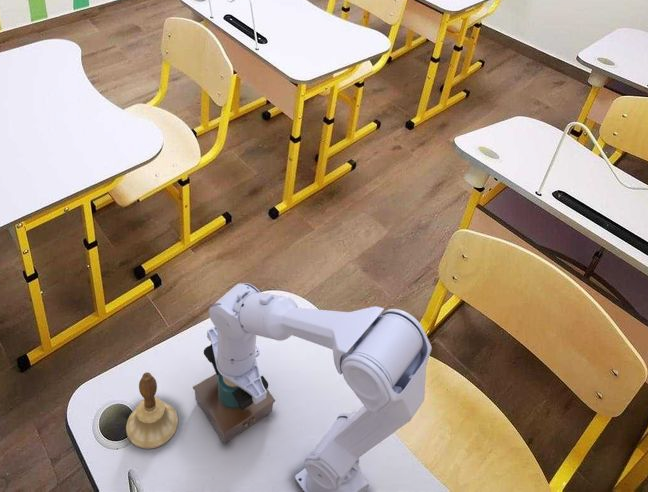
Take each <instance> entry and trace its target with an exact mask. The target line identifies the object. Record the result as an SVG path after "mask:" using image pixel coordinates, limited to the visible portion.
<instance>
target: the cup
mask: <svg viewBox="0 0 648 492" xmlns="http://www.w3.org/2000/svg"><path fill="white" fill-rule="evenodd" d="M238 388H240V387H238V386H237V385H235V384H234V383H232V382H231V381H229V380H228V379H226V378H225V377H223V376H222V375H221V374H220V373H219V375H218V398H219V400H220V402H221V403H222V404H223V405H224V406H226V407H229V408H237V407H239V405H238V402H237V401H236V399H235V398H234V396H233V395H232V392H234V391H235V390H237V389H238Z"/></svg>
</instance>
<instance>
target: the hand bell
mask: <svg viewBox="0 0 648 492" xmlns="http://www.w3.org/2000/svg"><path fill="white" fill-rule="evenodd" d="M157 390H158V383H157V380H156V378H155V377H154V376H153V375H152V373H150V372H148V371H147V372H144V373H143V374H142V376H141V378H140V380H139V382H138V391H139V394H140V395H141V397H142V398H143V400H141V401H140V402H139V403H138V404H137V406H136V408H134V410H133V411H132V412H131V413H130V415H129V416H128V418H127V421H126V425H125V433H126V436H127V438H128V440H129V442H131V443H132V444H133V445H134V446H136V447H138V448H140V449H145V450H146V449H147V450H150V449H155V448H159V447H161V446H163V445H165V444H166V443H168V442H169V441H170V440H171V439H172V438H173V437H174V435H175V434H176V433H177V430H178V426H179V417H178V413H177V411H176V409H175V408H174V407H173V406H172V405H170V404H169V403H167V402H165V401H163V400H162V399H160V398H158V397H155V395H156V393H157Z"/></svg>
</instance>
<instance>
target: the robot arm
mask: <svg viewBox="0 0 648 492" xmlns="http://www.w3.org/2000/svg"><path fill="white" fill-rule="evenodd" d="M384 310H385V308H384V307H380V306H377V305H376V306H370V307H366V308H361V309H358V310H353V311H340V310H327V309H326V310H325V309H315V308H303V307H299V306H298V304H297V303H296V301H295V300H294V299H292V298H291V297H287V296H283V295H277V294H273V293H269V292H261V291H260V290H259V289H258V288H257V286H255V285H253V284H251V283H248V282H243V283H237V284H235V285H234V286H233V287H232V288H231V289H230V290H228V291H227V292H226V293H225V294H224V295H222V296H221V297H220V298H219V299H218V300H217V301H215V302H214V303H213V304H212V306H210V307H209V309H208V316H209V319H210V320H211V323H212V324H213V325H214V326H213V327H211V328H209V329H207V330H206V338H207V340H208V341H209V342H210V345H208V346H206V347H205V348H204V349H203V355H204V356H205V358H206V359H207V361H208V362H210V363H211V364H212V367H213V369H214V372H215V374H217V375H219V373H220V374H221V375H222V376H223V377H225V378H226V379H228V380H229V381H231V382H232V383H234V384H235V385H237V386H238V387H240V388H238V389H237V390H235V391H234V392H232V395H233V396H234V398H235V399H236V401H237V402H238V405H239V407H240V408H241V410H244V409H245V408H247V407H248V406H250V405H251V404H252V403H253V402H254V403H255V404H257V403H259V402H260V401H262V400H263V399H265V398H266V395H267V391H266V389H267V390H269V382H268V380H267V379H266V377H264V375H261V373H260V369H259V365H258V362H257V361H258V360H257V357H259V356H260V354H261V351H260V349H259V348H258V346H257V337H261V338H266V339H270V340H274V341H278V342H282V341H285V340H288V339H289V338H291V337H292V336H293V337H296V338H299V339H302V340H304V341H308V342H310V343H313V344H316V345H318V346H321V347H323V348H327V349H330V350H332V357H333V363H334V367H335V369H336V372H337V373H338V374H339V375H342V376H343V379H344V381H345V383H346V384H347V385H348V387H349V388H350V389H351V390H352V391H353V393H354V394H355V395H356V398H358V400H359V401H360V402H361V404H362V407H361V408H359V409H358V410H357V411H356V410H353V411H352V412H350V413H345V412H344V413H340V414H339V415H338V416H337V418H336V420H335V421H334V423H333V424H332V426H331V427H330V428H329V429H328V430H327V432H326V433H325V434H324V436H323V437H322V438H321V439H320V441H319V442H318V443H317V444H316V446H315V447H314V448H313V450H312V451H311V452H310V454H308V455H307V456H306V457H305V458H304V461H303V462H304V468H302V470H301V471H299V472H297V473H296V474H295V476H294V479H295V481H296V482H297V484H298V485H299V487H300V488H301V489H302V491H303V492H367V491H368V489H369V487H370V484H369V482H368V481H367V479H366V478H365V476H364V474H363V472H362V470H361V467H360V458H361V457H362V456H364V455H365V454H366V453H368V452H369V451H370V450H372V449H373V448H375V447H376V446H377V445H379V444H381V443H382V442H383V441H385V440H386V439H388V438H389V437H390V436H392V435H393V434H394V433H396V432H397V431H398V430H400V429H401V428H403V427H404V426H405V425H407V424H408V423H410V422H411V421H412V419H413V418H414V417H415V415H416V414H417V412H418V410H419V409H420V408H421V406H422V405H423V403H424V401H425V394H426V376H427V375H426V374H427V365H428V361H429V358H430V355H431V352H432V350H433V349H432V348H433V347H432V345H431V342H430V340H429V338H428V336H427V333H426V331H425V330H424V329H425V328H424V327H423V326H422V325H421V323H420V322H419V320H418V319H417V318H416V317H415V316H413V315H412V314H410V313H409V312H407V311H404V310H402V309H398V308H389V309H386V310H385V311H384Z"/></svg>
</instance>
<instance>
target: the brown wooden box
mask: <svg viewBox="0 0 648 492" xmlns="http://www.w3.org/2000/svg"><path fill="white" fill-rule="evenodd" d="M192 389H193V390H194V399H195V401H196V403H197V404H198V406H199V407H200V408H201V410H202V412H203V413H204V415H205V416H206V418H207V419H208V421H209V423H210V424H211V425H212V427H213V428H214V430H215V431H216V433H217V435H218V436H219V438H220V439H221V441H222V442H223V444H225V443H226V442H228V441H230V440H231V439H233V438H234V437H236V436H237V435H239V434H240V433H242V432H243V431H245V430H246V429H247V428H250V427H251V426H252V425H254V424H255V423H257V422H259V421H260V420H261V419H263V418H265V417H266V416H267V415H269V414H271V413H272V412H273V408H274V403H275V402H276V398H274V396H273V395H272V394H271V392H270V391H269V389H266V391H267V395H266V398H265V399H263V400H262V401H260V402H259V403H257V404H255V403H254V402H253V403H252V404H251V405H250V406H248V407H247V408H245V409H244V410H241V408H240V407H237V408H229V407H226V406H224V405H223V404H222V403H221V402H220V400H219V398H218V375H217V374H216V373H215V374H212V375H211V376H209V377H207V378H205V379H204V380H202V381H200V382H199V383H197V384H196V385H194V386H193V387H192Z"/></svg>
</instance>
